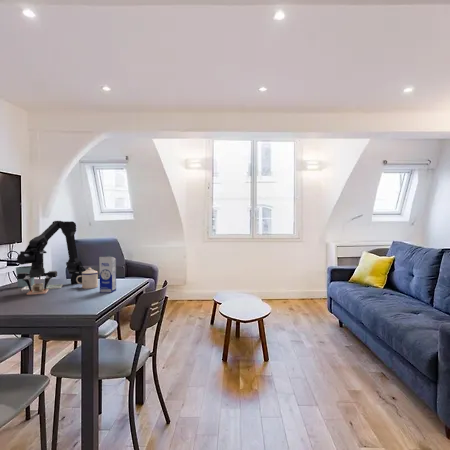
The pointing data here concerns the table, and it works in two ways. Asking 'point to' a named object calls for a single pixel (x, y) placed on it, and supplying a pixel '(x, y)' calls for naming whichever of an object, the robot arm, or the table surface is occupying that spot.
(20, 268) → the teal patterned cup
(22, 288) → the dish
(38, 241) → the robot arm
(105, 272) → the milk carton
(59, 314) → the table surface
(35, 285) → the letter cube
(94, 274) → the teacup with lid
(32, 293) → the dish
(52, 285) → the dish
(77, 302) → the table surface
